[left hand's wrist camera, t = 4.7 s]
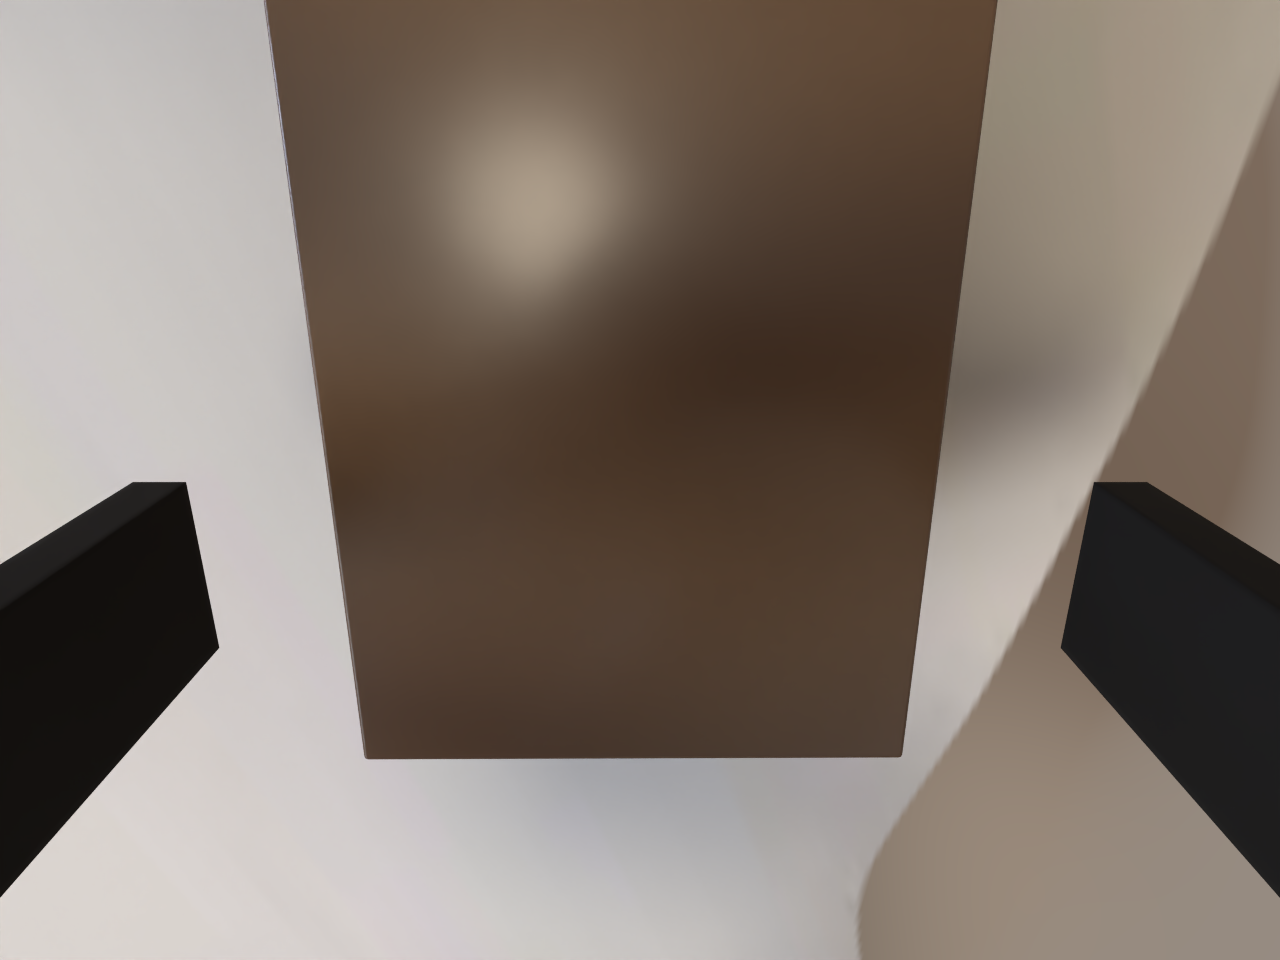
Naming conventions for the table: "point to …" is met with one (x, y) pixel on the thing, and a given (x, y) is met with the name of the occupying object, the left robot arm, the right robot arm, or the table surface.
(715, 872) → the table surface
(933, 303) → the brown rectangular box
